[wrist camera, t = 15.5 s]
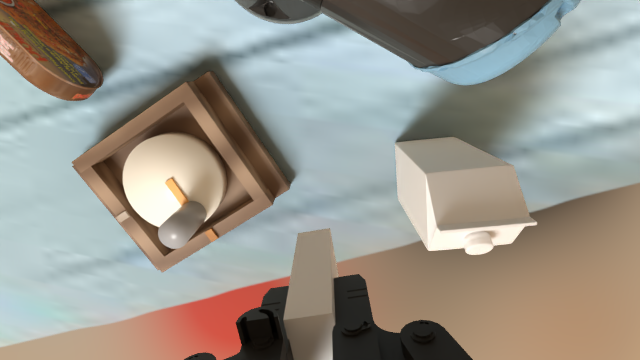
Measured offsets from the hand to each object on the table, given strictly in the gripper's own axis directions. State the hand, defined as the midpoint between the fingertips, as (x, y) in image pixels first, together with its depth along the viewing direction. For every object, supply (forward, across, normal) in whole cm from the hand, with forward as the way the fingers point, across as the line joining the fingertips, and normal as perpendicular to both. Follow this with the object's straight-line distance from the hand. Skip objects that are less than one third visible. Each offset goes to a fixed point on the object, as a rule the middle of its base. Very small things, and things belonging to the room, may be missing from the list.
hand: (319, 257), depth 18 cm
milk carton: (+30, +12, -5) cm, 32 cm away
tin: (+30, -28, +17) cm, 44 cm away
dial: (+27, -17, -1) cm, 32 cm away
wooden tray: (+29, -17, -1) cm, 34 cm away
